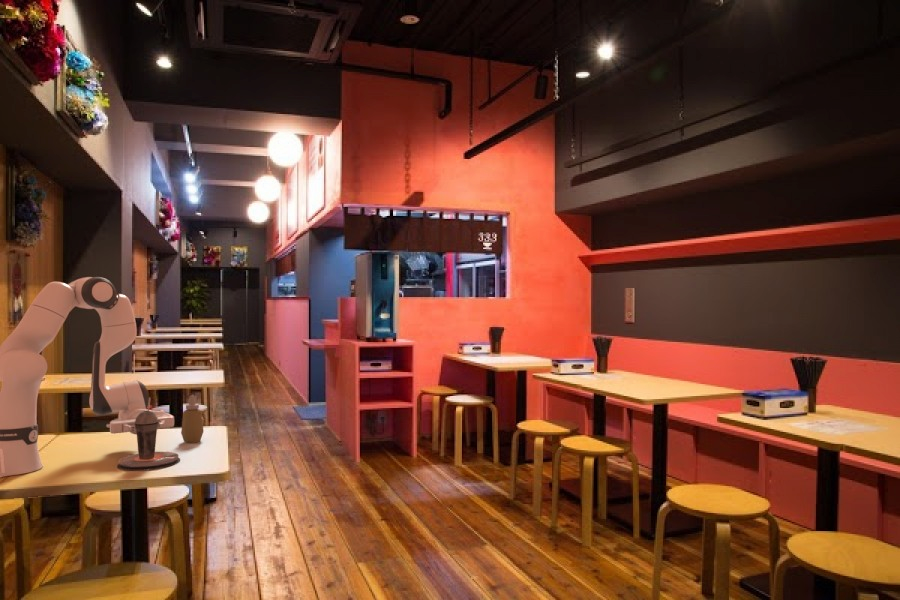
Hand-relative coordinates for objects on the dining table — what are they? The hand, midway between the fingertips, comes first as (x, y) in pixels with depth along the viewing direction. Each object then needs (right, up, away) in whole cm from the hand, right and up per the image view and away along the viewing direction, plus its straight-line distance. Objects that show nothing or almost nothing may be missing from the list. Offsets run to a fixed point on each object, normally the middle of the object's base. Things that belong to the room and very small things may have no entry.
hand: (146, 427), depth 213 cm
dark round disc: (+2, -12, -3) cm, 12 cm away
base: (+2, -12, -3) cm, 12 cm away
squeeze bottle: (+3, -12, +30) cm, 33 cm away
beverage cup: (+1, -10, -3) cm, 10 cm away
